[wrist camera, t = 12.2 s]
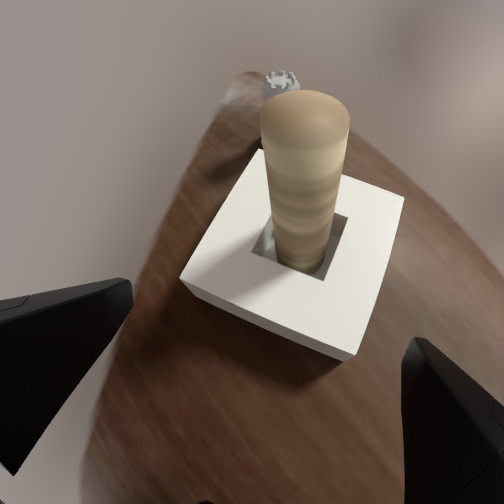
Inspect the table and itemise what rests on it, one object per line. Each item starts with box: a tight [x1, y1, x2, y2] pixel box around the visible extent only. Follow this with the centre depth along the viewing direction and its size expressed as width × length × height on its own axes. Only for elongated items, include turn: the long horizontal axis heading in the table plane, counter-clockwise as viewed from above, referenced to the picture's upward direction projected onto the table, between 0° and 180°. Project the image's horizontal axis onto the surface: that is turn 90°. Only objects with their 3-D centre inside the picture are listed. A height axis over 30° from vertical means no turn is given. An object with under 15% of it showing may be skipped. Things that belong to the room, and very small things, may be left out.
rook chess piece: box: [261, 70, 300, 146], centre depth 26 cm, size 4×4×8 cm
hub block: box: [179, 149, 404, 362], centre depth 22 cm, size 12×12×4 cm
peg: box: [259, 90, 350, 275], centre depth 17 cm, size 4×4×13 cm
